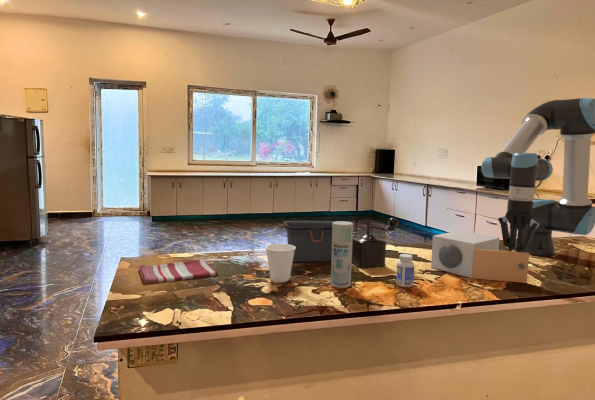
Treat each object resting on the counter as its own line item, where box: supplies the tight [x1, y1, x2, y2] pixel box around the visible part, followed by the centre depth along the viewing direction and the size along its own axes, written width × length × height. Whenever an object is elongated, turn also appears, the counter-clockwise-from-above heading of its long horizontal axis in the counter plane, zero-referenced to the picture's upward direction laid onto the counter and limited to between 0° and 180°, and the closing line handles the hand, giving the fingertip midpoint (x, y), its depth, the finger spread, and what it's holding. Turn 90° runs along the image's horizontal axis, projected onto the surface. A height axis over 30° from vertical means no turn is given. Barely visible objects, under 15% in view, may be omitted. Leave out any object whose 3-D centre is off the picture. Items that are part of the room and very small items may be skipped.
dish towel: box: [139, 259, 219, 285], centre depth 144 cm, size 17×23×3 cm
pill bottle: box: [395, 253, 415, 288], centre depth 136 cm, size 5×5×10 cm
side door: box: [471, 249, 530, 283], centre depth 141 cm, size 17×2×10 cm, turn 78°
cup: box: [264, 243, 296, 284], centre depth 138 cm, size 10×10×11 cm
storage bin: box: [283, 220, 334, 263], centre depth 164 cm, size 21×16×14 cm
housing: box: [430, 230, 500, 279], centre depth 156 cm, size 20×16×12 cm
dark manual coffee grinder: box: [351, 217, 400, 269], centre depth 160 cm, size 16×11×18 cm
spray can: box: [330, 220, 354, 289], centre depth 134 cm, size 6×6×20 cm
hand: (513, 268), depth 144 cm, fingers closed
